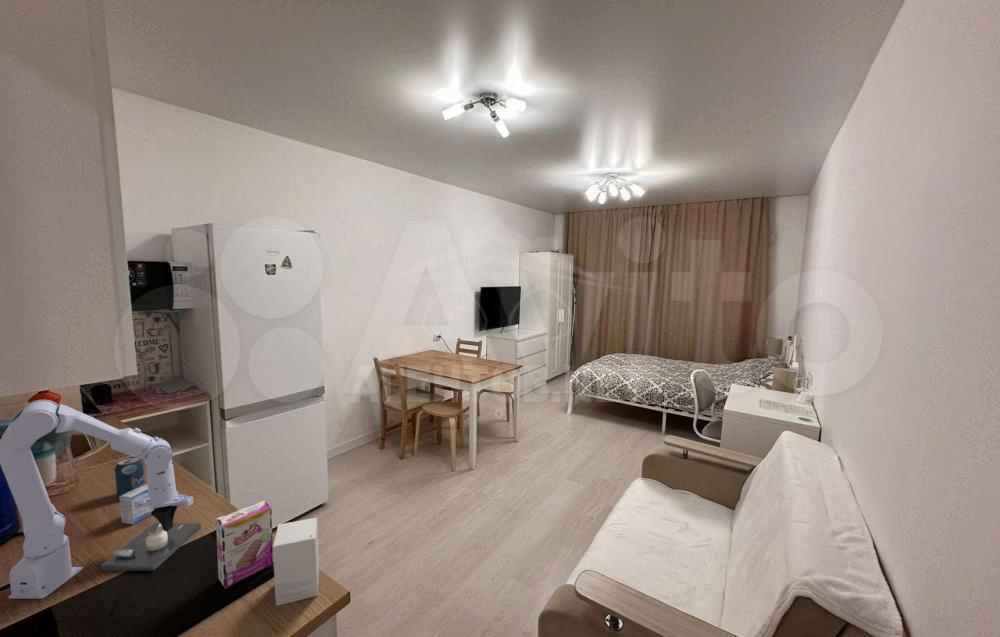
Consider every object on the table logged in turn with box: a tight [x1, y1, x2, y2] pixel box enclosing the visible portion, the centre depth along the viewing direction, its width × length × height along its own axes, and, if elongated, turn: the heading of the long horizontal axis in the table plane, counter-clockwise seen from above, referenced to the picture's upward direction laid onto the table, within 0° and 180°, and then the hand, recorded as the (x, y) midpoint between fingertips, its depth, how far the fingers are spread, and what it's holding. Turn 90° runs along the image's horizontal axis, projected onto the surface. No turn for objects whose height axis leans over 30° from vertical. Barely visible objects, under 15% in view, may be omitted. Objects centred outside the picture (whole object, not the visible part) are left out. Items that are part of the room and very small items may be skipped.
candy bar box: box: [215, 500, 274, 590], centre depth 102 cm, size 11×5×16 cm, turn 141°
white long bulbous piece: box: [146, 524, 168, 551], centre depth 111 cm, size 9×4×3 cm, turn 26°
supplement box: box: [272, 517, 320, 607], centre depth 98 cm, size 9×9×15 cm
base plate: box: [99, 522, 202, 572], centre depth 111 cm, size 17×13×3 cm
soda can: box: [114, 456, 146, 498], centre depth 135 cm, size 7×7×12 cm
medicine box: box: [118, 482, 154, 525], centre depth 124 cm, size 8×4×9 cm, turn 168°
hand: (167, 529), depth 113 cm, fingers closed, pressing on white long bulbous piece
